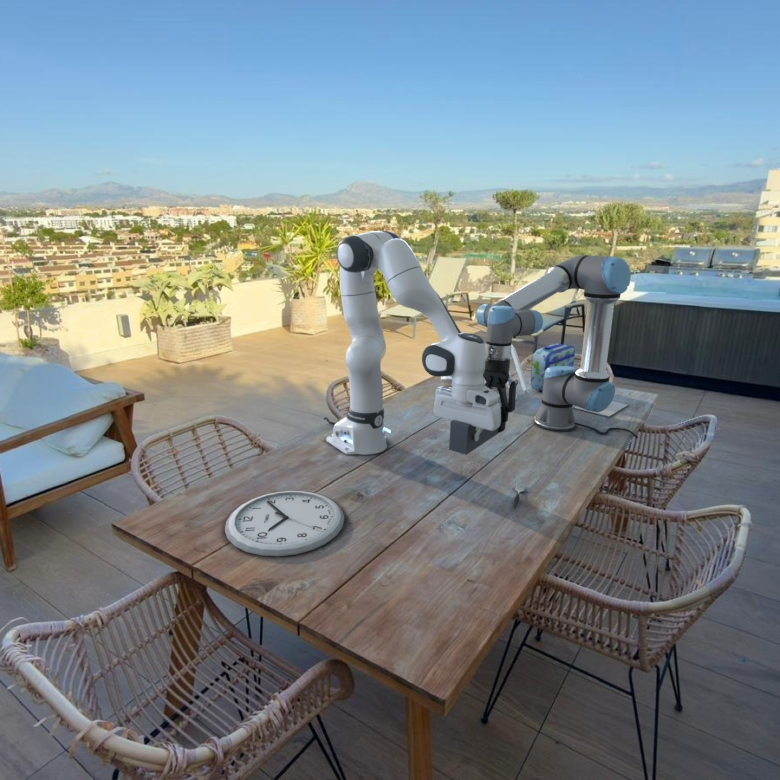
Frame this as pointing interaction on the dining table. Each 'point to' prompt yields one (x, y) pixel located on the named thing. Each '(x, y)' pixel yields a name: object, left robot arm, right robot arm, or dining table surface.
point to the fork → (518, 489)
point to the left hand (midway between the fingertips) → (464, 437)
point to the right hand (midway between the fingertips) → (492, 428)
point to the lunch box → (550, 361)
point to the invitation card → (608, 409)
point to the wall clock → (284, 523)
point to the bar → (468, 436)
